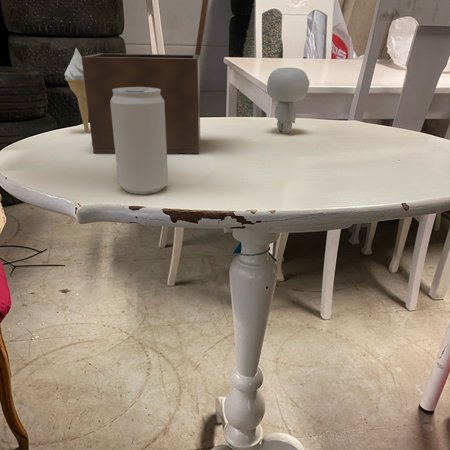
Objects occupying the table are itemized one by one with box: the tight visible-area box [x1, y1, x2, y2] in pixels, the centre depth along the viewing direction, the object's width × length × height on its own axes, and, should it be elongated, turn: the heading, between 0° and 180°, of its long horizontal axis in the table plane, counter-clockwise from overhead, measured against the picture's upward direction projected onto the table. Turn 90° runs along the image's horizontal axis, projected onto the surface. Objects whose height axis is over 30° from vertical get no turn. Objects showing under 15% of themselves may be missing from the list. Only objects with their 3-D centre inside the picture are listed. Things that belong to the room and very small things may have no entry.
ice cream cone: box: [63, 47, 90, 133], centre depth 90 cm, size 6×6×15 cm
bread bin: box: [82, 53, 201, 155], centre depth 80 cm, size 18×13×14 cm
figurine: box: [266, 67, 310, 134], centre depth 94 cm, size 8×8×12 cm
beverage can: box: [110, 87, 169, 195], centre depth 58 cm, size 6×6×12 cm
